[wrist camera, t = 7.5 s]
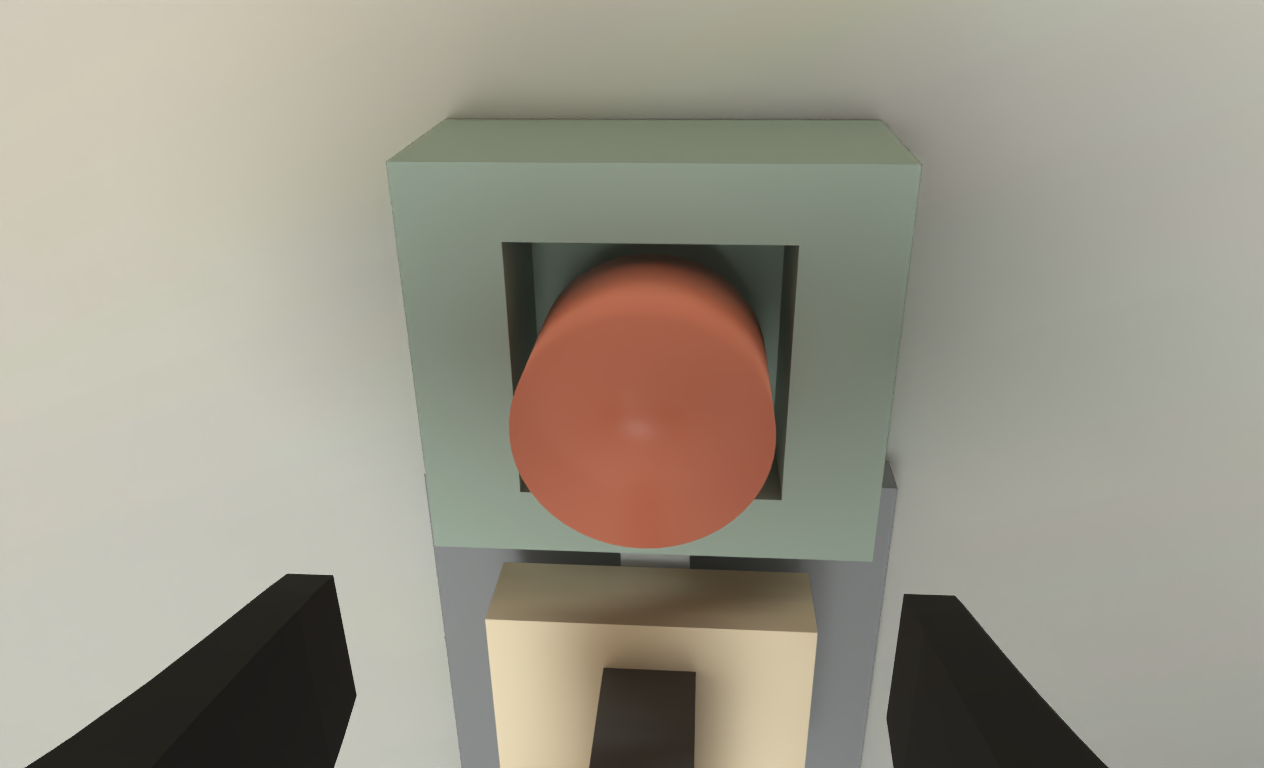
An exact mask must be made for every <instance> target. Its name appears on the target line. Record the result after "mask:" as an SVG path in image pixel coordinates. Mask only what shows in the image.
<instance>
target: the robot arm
mask: <svg viewBox="0 0 1264 768" xmlns="http://www.w3.org/2000/svg"><path fill="white" fill-rule="evenodd" d="M356 696H357V695H356V690H355V685H354V680H353V675H352V670H351V665H350V659H349V654H348V649H347V644H346V639H345V634H344V629H343V624H342V618H341V613H340V608H339V603H338V598H337V593H336V588H335V583H334V577H333V575H308V574H286V575H285V576H284V577H282V578H281V579H280V580H278V581H277V582H275V583H274V584H273V585H271V586H270V587H269V588H267V589H266V590H265V591H264V592H262V593H261V594H260V595H258V596H257V597H256V598H255V599H253V600H252V601H251V602H250V603H248V604H247V605H246V606H245V607H243V608H242V609H241V610H239V611H238V612H237V613H236V614H234V615H233V616H232V617H231V618H229V619H228V620H227V621H226V622H224V623H223V624H222V625H221V626H219V627H218V628H217V629H216V630H214V631H213V632H212V633H211V634H209V635H208V636H207V637H206V638H204V639H203V640H202V641H200V642H199V643H198V644H197V645H195V646H194V647H193V648H191V649H190V650H189V651H188V652H186V653H185V654H184V655H182V656H181V657H180V658H179V659H177V660H176V661H175V662H173V663H172V664H171V665H170V666H168V667H167V668H166V669H164V670H163V671H162V672H161V673H159V674H158V675H157V676H155V677H154V678H153V679H151V680H150V681H149V682H147V683H146V684H145V685H143V686H142V687H140V688H139V689H138V690H136V691H135V692H134V693H132V694H131V695H129V696H128V697H127V698H125V699H124V700H122V701H121V702H120V703H118V704H117V705H115V706H114V707H113V708H111V709H110V710H109V711H107V712H106V713H104V714H103V715H102V716H100V717H99V718H97V719H96V720H95V721H93V722H92V723H90V724H89V725H88V726H86V727H85V728H84V729H82V730H81V731H79V732H78V733H77V734H75V735H74V736H72V737H71V738H69V739H68V740H66V741H65V742H63V743H62V744H60V745H59V746H57V747H56V748H54V749H53V750H51V751H50V752H48V753H47V754H45V755H44V756H42V757H41V758H39V759H38V760H36V761H35V762H33V763H31V764H30V765H28V766H27V767H25V768H334V766H335V763H336V760H337V757H338V754H339V751H340V748H341V745H342V742H343V739H344V736H345V732H346V729H347V726H348V722H349V719H350V716H351V712H352V709H353V706H354V702H355V699H356ZM887 725H888V732H889V739H890V746H891V753H892V760H893V766H894V768H1108V767H1107V766H1106V765H1105V764H1104V763H1103V762H1102V761H1101V760H1100V759H1099V758H1098V757H1097V756H1096V755H1095V754H1094V753H1093V752H1092V751H1091V750H1090V749H1089V747H1088V746H1087V745H1086V744H1085V743H1084V742H1083V741H1082V740H1081V739H1080V738H1079V737H1078V736H1077V735H1076V734H1075V733H1074V732H1073V731H1072V730H1071V728H1070V727H1069V726H1068V725H1067V724H1066V723H1065V722H1064V721H1063V720H1062V719H1061V718H1060V716H1059V715H1058V714H1057V713H1056V712H1055V711H1054V710H1053V709H1052V708H1051V707H1050V706H1049V704H1048V703H1047V702H1046V701H1045V700H1044V699H1043V698H1042V697H1041V696H1040V695H1039V694H1038V692H1037V691H1036V690H1035V689H1034V688H1033V687H1032V686H1031V684H1030V683H1029V682H1028V681H1027V680H1026V679H1025V678H1024V676H1023V675H1022V674H1021V673H1020V672H1019V671H1018V669H1017V668H1016V667H1015V666H1014V665H1013V664H1012V662H1011V661H1010V660H1009V659H1008V658H1007V657H1006V655H1005V654H1004V653H1003V652H1002V651H1001V650H1000V648H999V647H998V646H997V645H996V644H995V642H994V641H993V640H992V639H991V638H990V636H989V635H988V634H987V633H986V632H985V630H984V629H983V628H982V627H981V626H980V624H979V623H978V622H977V621H976V619H975V618H974V617H973V616H972V615H971V613H970V612H969V611H968V610H967V609H966V607H965V606H964V605H963V604H962V603H961V602H960V601H959V600H958V599H957V598H956V596H948V595H918V594H904V597H903V605H902V612H901V619H900V626H899V633H898V640H897V647H896V654H895V661H894V668H893V675H892V682H891V690H890V697H889V704H888V711H887Z"/></svg>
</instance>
